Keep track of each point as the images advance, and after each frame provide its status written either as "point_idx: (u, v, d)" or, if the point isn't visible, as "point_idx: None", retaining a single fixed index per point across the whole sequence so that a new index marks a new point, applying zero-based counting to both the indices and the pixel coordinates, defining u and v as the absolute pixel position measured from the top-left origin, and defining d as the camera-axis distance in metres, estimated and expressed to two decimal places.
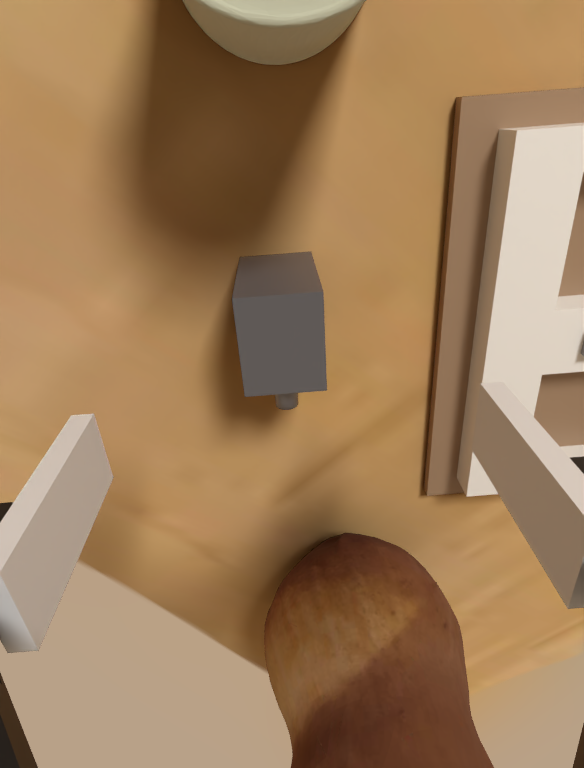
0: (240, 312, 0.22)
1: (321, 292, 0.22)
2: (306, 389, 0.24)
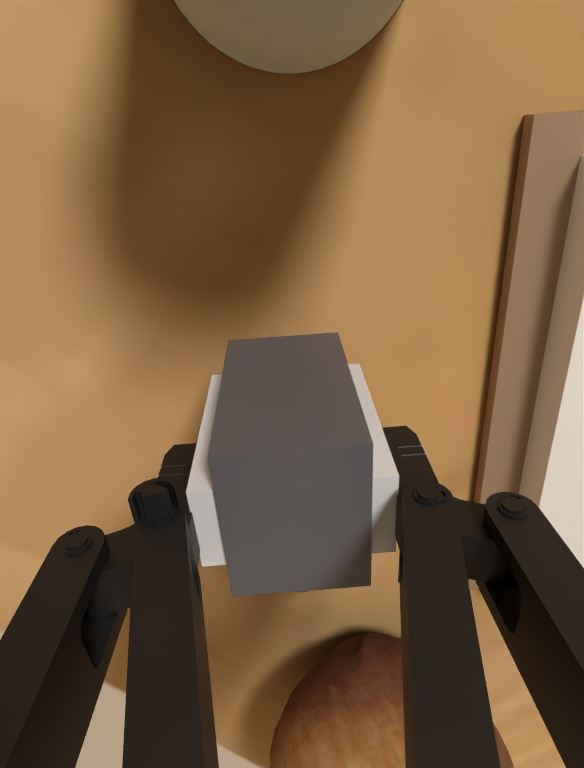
0: (223, 476, 0.12)
1: (370, 445, 0.12)
2: (336, 585, 0.14)
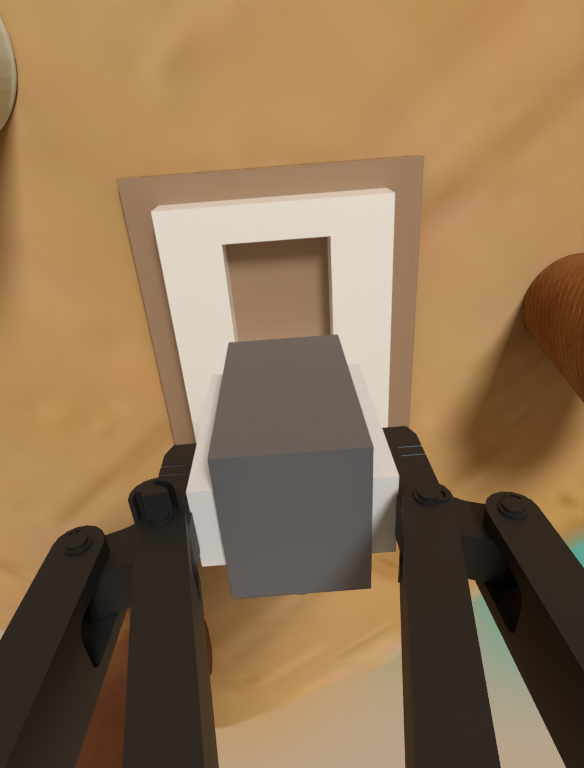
0: (224, 479, 0.12)
1: (370, 448, 0.12)
2: (336, 588, 0.14)
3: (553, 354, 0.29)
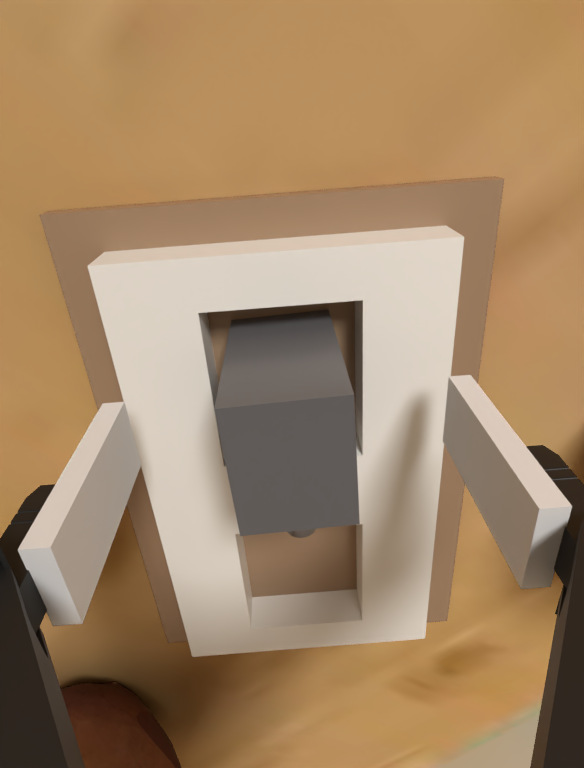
0: (228, 426, 0.14)
1: (351, 396, 0.14)
2: (329, 524, 0.16)
3: None
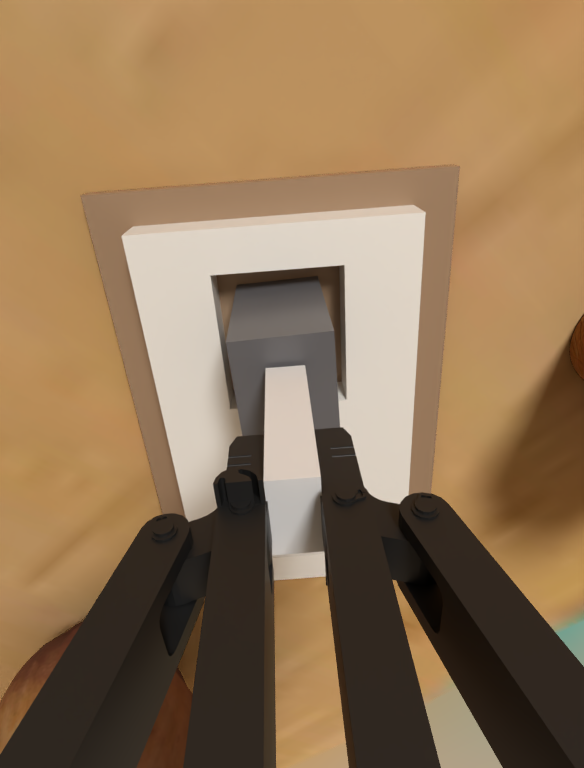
0: (237, 357, 0.18)
1: (332, 332, 0.18)
2: None
3: None
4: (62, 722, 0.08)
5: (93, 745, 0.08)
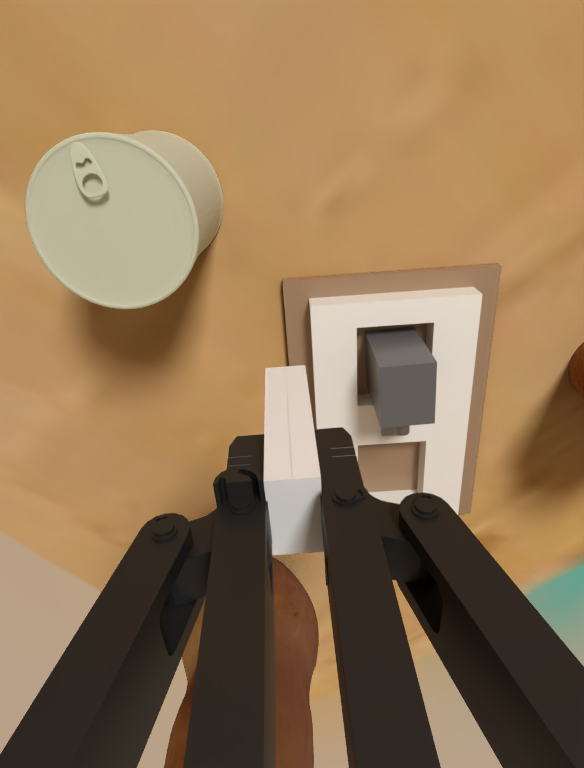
0: (383, 375, 0.35)
1: (436, 362, 0.34)
2: (421, 423, 0.36)
3: None
4: (62, 722, 0.08)
5: (93, 745, 0.08)
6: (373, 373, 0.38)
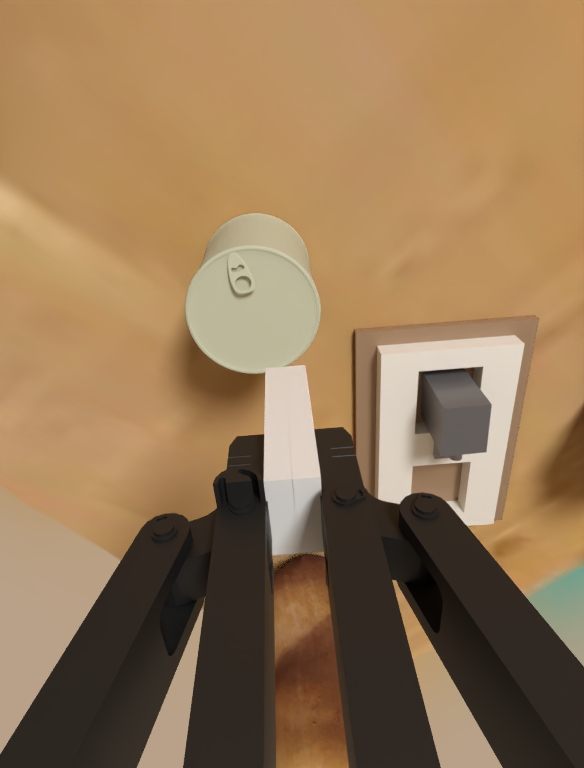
0: (447, 415, 0.42)
1: (490, 404, 0.42)
2: (475, 452, 0.44)
3: None
4: (62, 722, 0.08)
5: (93, 745, 0.08)
6: (433, 410, 0.45)
